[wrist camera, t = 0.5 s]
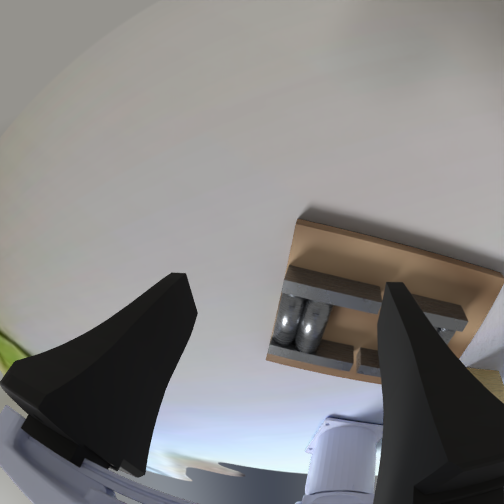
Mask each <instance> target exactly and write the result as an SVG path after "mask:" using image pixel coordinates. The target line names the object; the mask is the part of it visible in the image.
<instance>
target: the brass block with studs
mask: <svg viewBox="0 0 504 504" xmlns="http://www.w3.org/2000/svg"><path fill="white" fill-rule="evenodd" d="M466 368H467V367H466ZM467 369H468V370H469V371H470V372H471V373H472V374H473V375H474V376H475V377H476V378H477V379H478V380H479V381H480V382H481V383H482V384H483V385H484V386H485V387H486V388H487V389H488V390H489V391H490V392H491V393H492V394H493V395H494V396H496V397H497V398H498V399H499V400H500V401H502V402H503V403H504V385H503V382H502V379H501V376H500V374H499V371H494V370H484V369H475V368H467Z"/></svg>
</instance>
